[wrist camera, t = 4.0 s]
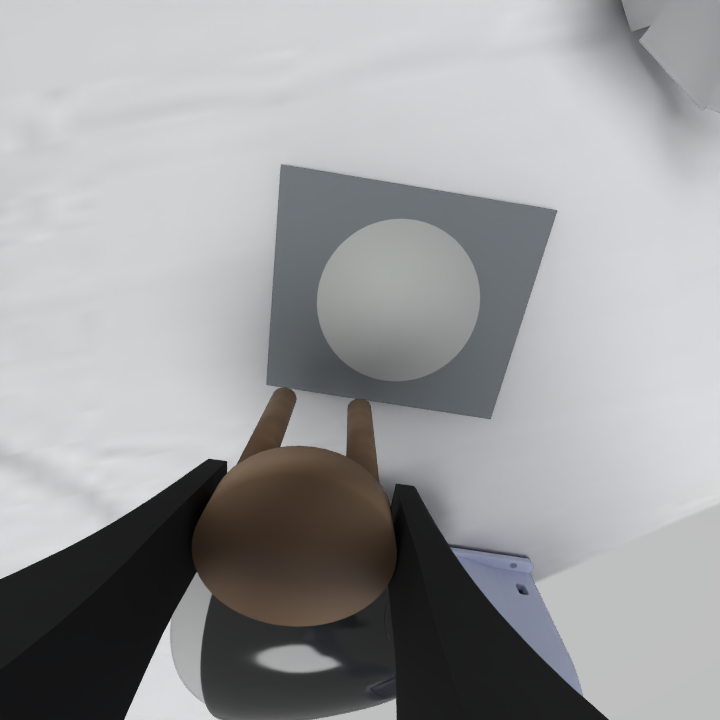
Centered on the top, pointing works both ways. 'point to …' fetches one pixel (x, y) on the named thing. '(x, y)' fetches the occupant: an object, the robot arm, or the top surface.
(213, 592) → the stool
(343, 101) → the top surface
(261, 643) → the black ball
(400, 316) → the mat
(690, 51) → the spiral staircase
